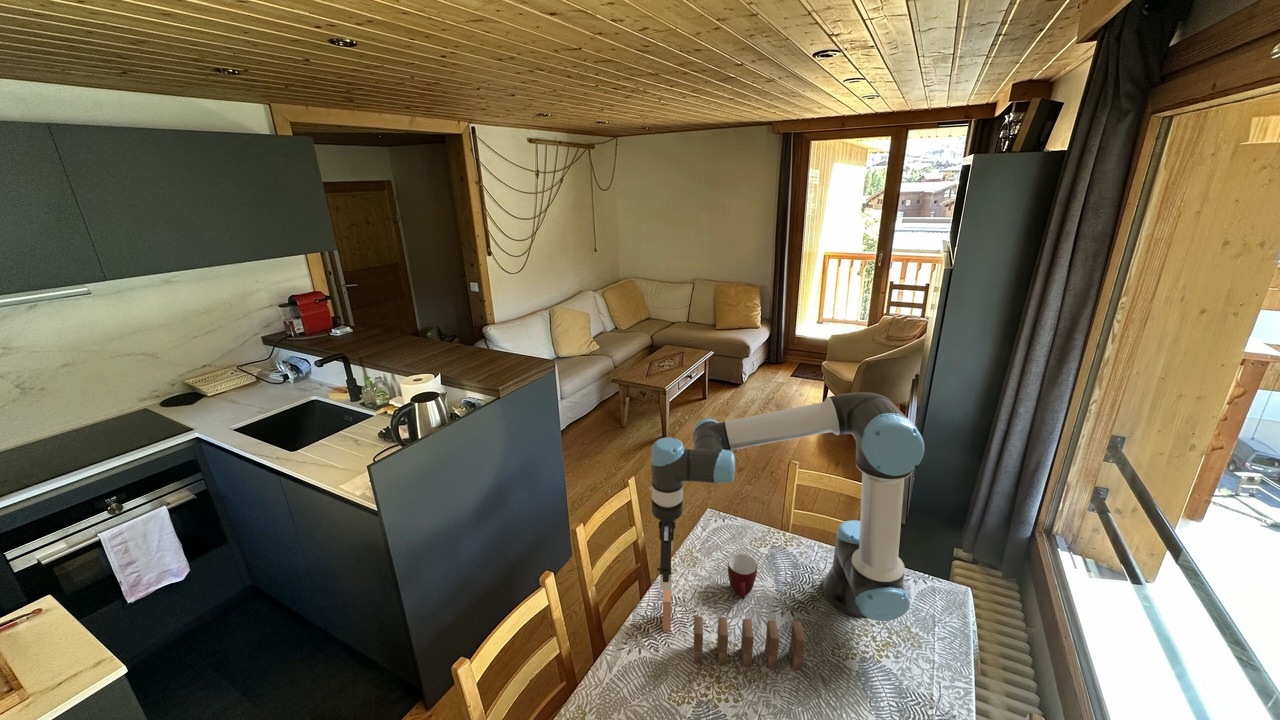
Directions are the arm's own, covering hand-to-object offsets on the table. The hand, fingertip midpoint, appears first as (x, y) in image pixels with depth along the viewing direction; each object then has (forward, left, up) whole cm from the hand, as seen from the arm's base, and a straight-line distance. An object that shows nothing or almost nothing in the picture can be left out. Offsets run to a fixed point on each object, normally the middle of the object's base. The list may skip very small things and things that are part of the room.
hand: (666, 568), depth 127 cm
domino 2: (-8, +9, -18) cm, 22 cm away
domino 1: (0, 0, -18) cm, 18 cm away
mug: (-21, -11, -19) cm, 30 cm away
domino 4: (-20, +9, -18) cm, 29 cm away
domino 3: (-14, +9, -18) cm, 25 cm away
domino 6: (-32, +9, -18) cm, 38 cm away
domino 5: (-26, +9, -18) cm, 33 cm away
